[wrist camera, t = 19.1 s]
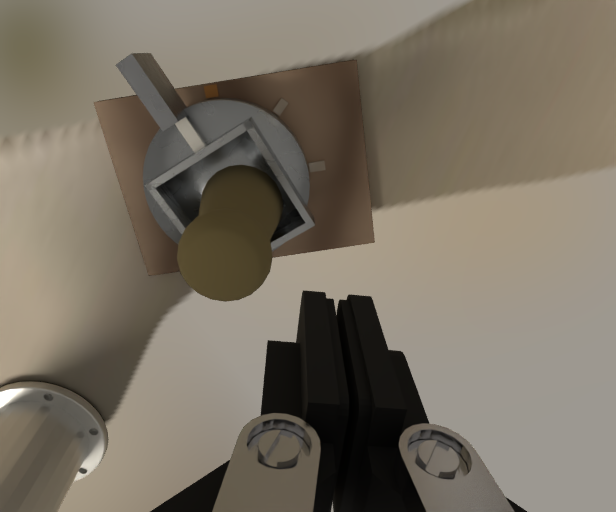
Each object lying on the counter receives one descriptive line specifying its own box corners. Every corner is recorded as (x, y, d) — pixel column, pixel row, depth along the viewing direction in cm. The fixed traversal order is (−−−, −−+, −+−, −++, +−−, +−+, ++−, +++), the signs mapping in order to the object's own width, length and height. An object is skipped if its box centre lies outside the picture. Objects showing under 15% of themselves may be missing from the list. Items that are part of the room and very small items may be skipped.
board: (152, 269, 40) (148, 277, 39) (99, 100, 35) (92, 102, 33) (372, 237, 40) (375, 243, 38) (354, 59, 34) (357, 60, 33)
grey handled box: (337, 205, 37) (343, 227, 32) (211, 277, 39) (200, 307, 34) (219, 8, 31) (206, 0, 27) (80, 104, 33) (46, 113, 29)
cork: (185, 212, 35) (140, 278, 25) (231, 147, 33) (204, 189, 23) (251, 257, 36) (235, 337, 26) (299, 198, 34) (302, 259, 24)
